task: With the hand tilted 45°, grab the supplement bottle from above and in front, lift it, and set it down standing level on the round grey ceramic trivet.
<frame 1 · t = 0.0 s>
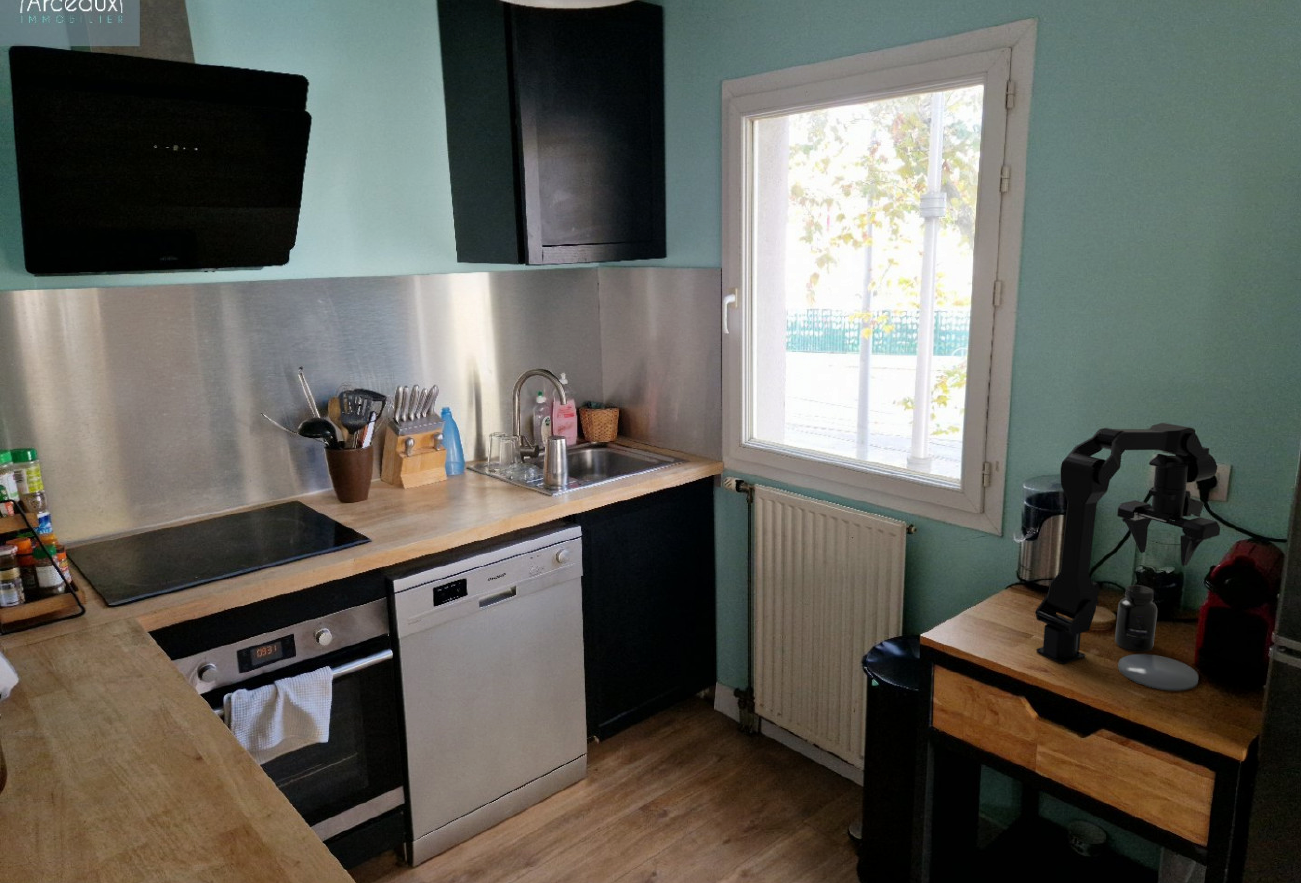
hand: (1162, 558, 184), 15 cm above the cabinet, tool pointing down, fingers open, 9 cm apart
supplement bottle: (1134, 646, 178), on the cabinet
trivet: (1157, 673, 166), on the cabinet
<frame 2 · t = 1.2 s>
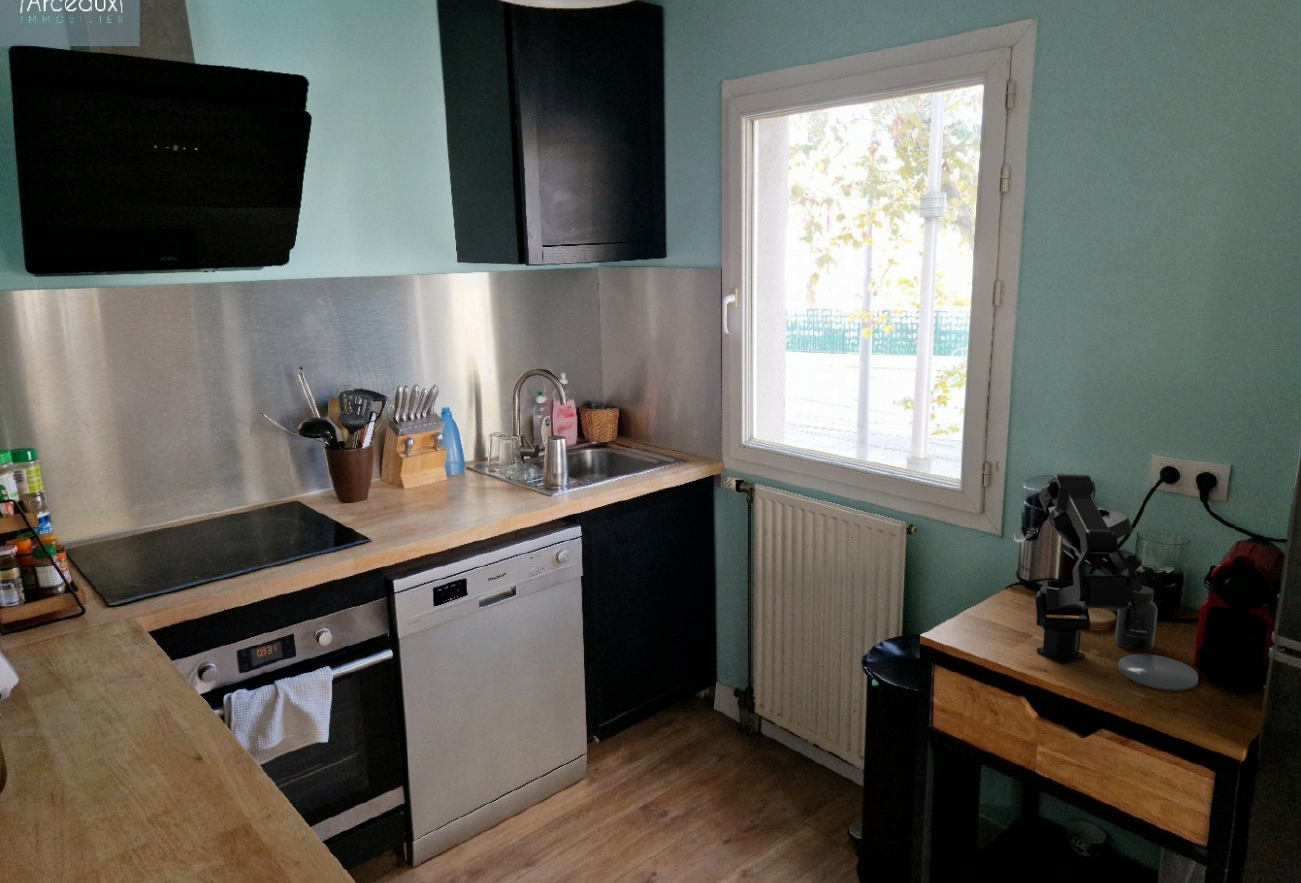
hand: (1125, 581, 175), 14 cm above the cabinet, tool tilted 45°, fingers open, 9 cm apart
nothing on the cabinet moved.
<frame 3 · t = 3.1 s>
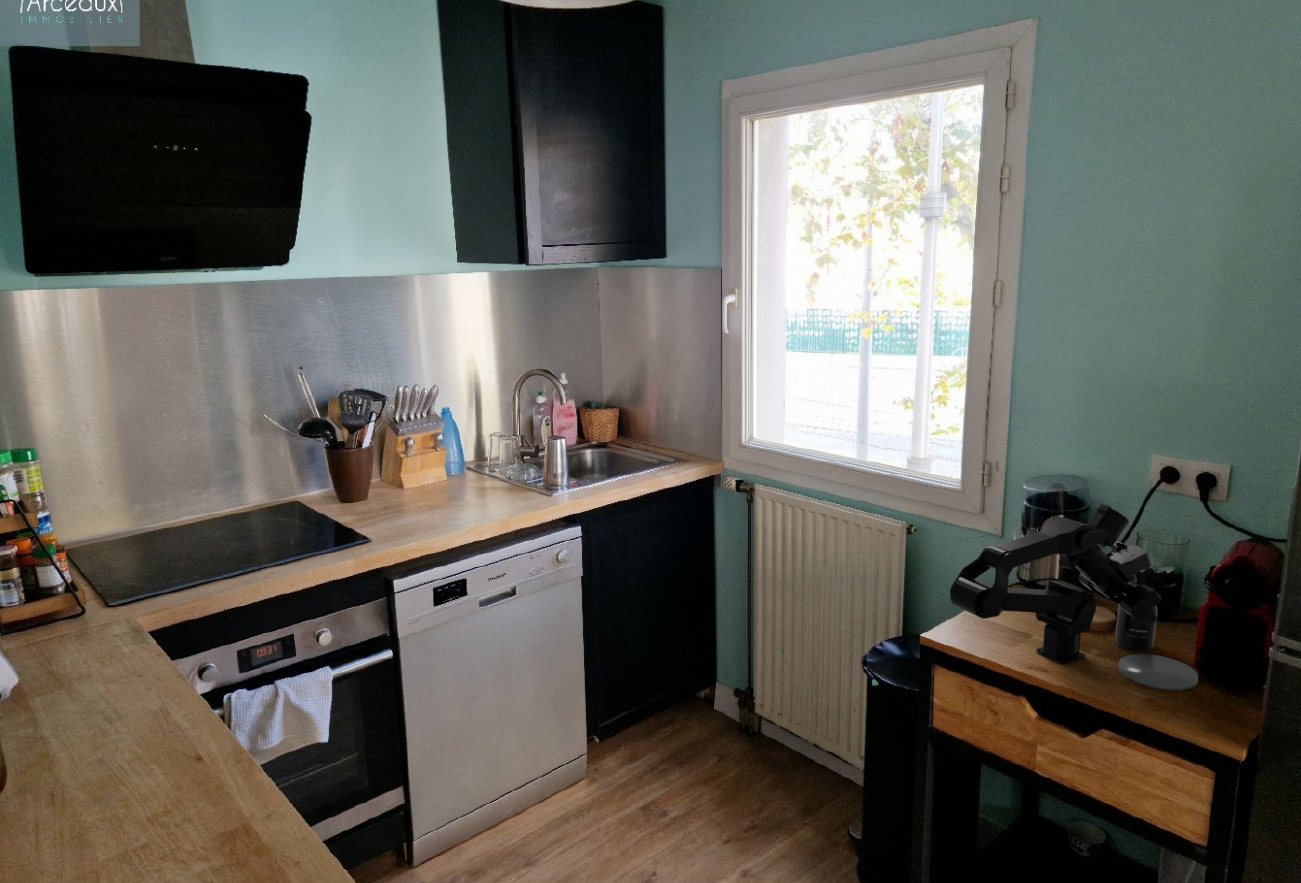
hand: (1143, 613, 177), 7 cm above the cabinet, tool tilted 45°, fingers closed on supplement bottle, 7 cm apart
supplement bottle: (1134, 646, 178), on the cabinet, touching gripper
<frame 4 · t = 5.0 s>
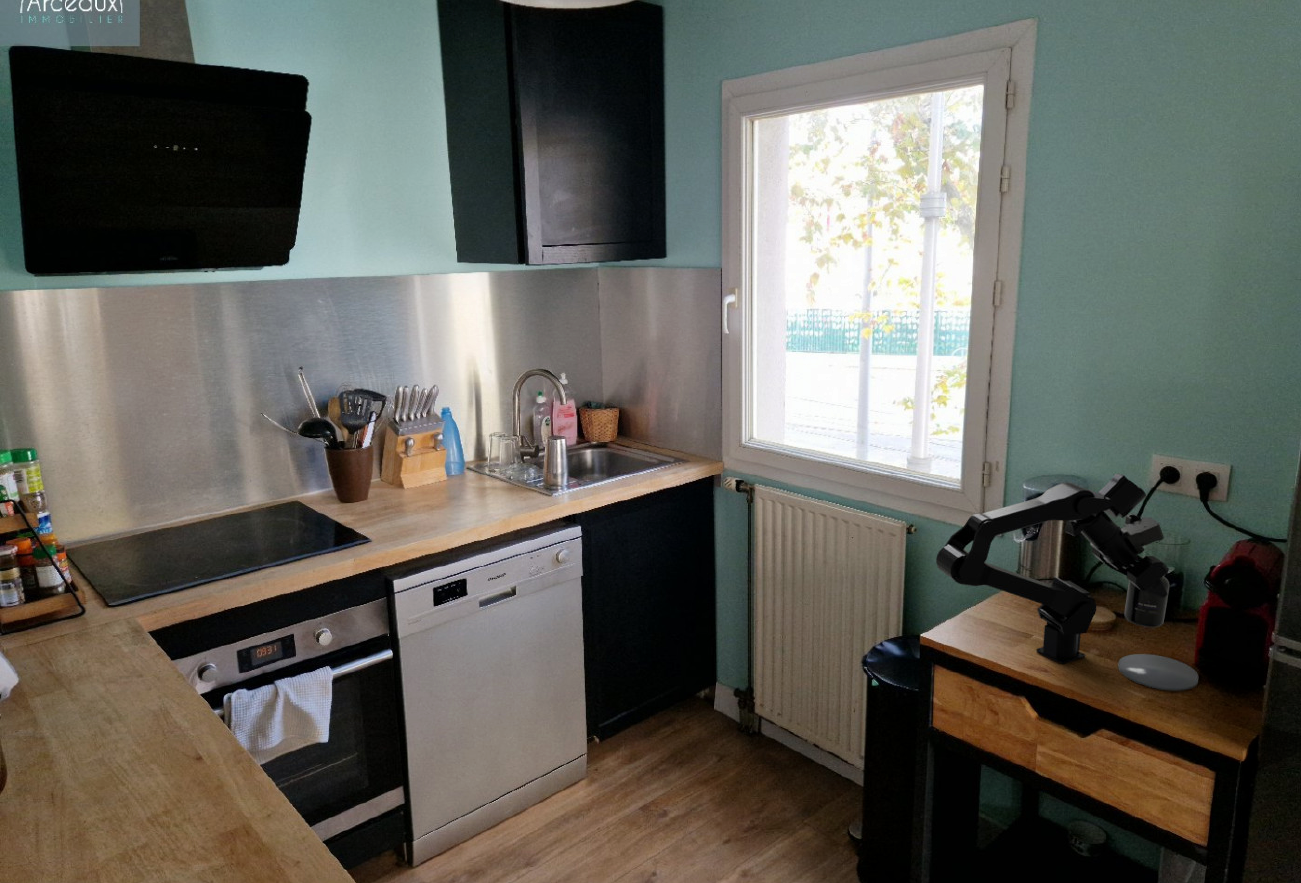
hand: (1155, 589, 173), 13 cm above the cabinet, tool tilted 45°, fingers closed on supplement bottle, 7 cm apart
supplement bottle: (1143, 621, 174), point 6 cm above the cabinet, touching gripper
when the fingers open (9 cm above the cabinet, at t = 7.4 s): supplement bottle stays where it is, resting on trivet.
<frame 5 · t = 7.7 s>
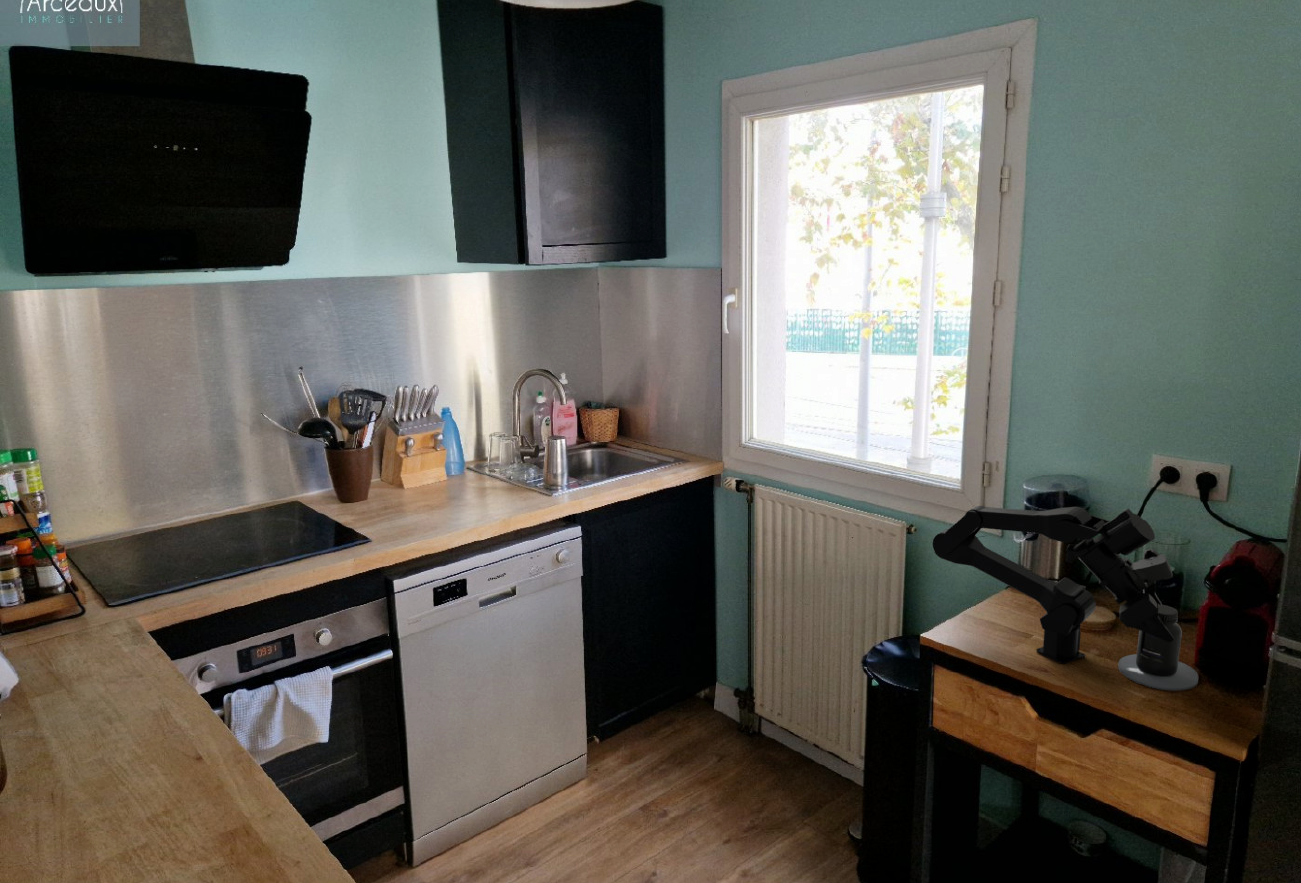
hand: (1170, 630, 164), 9 cm above the cabinet, tool tilted 45°, fingers open, 9 cm apart
supplement bottle: (1156, 670, 167), point 1 cm above the cabinet, touching trivet
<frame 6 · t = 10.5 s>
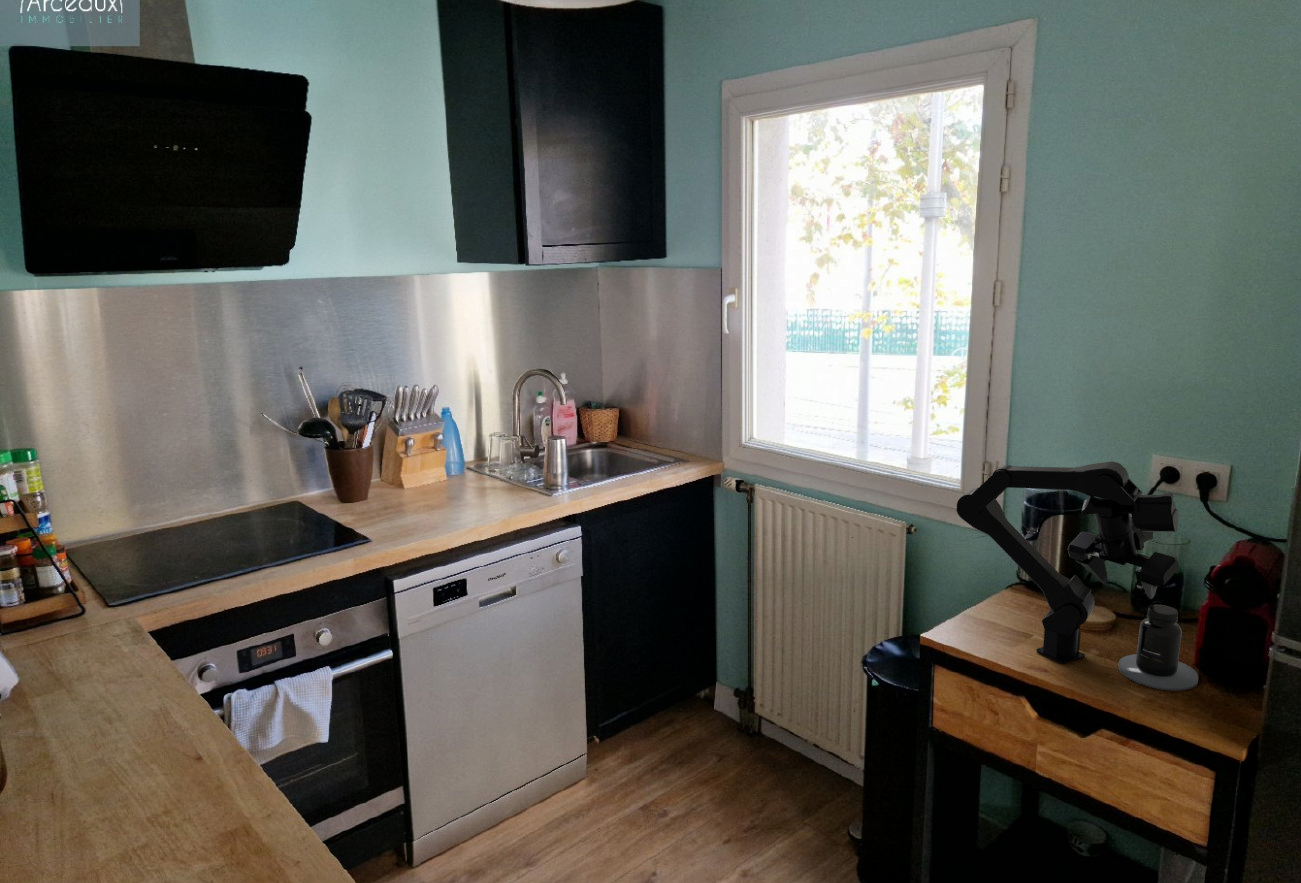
hand: (1128, 589, 173), 13 cm above the cabinet, tool tilted 25°, fingers open, 9 cm apart
nothing on the cabinet moved.
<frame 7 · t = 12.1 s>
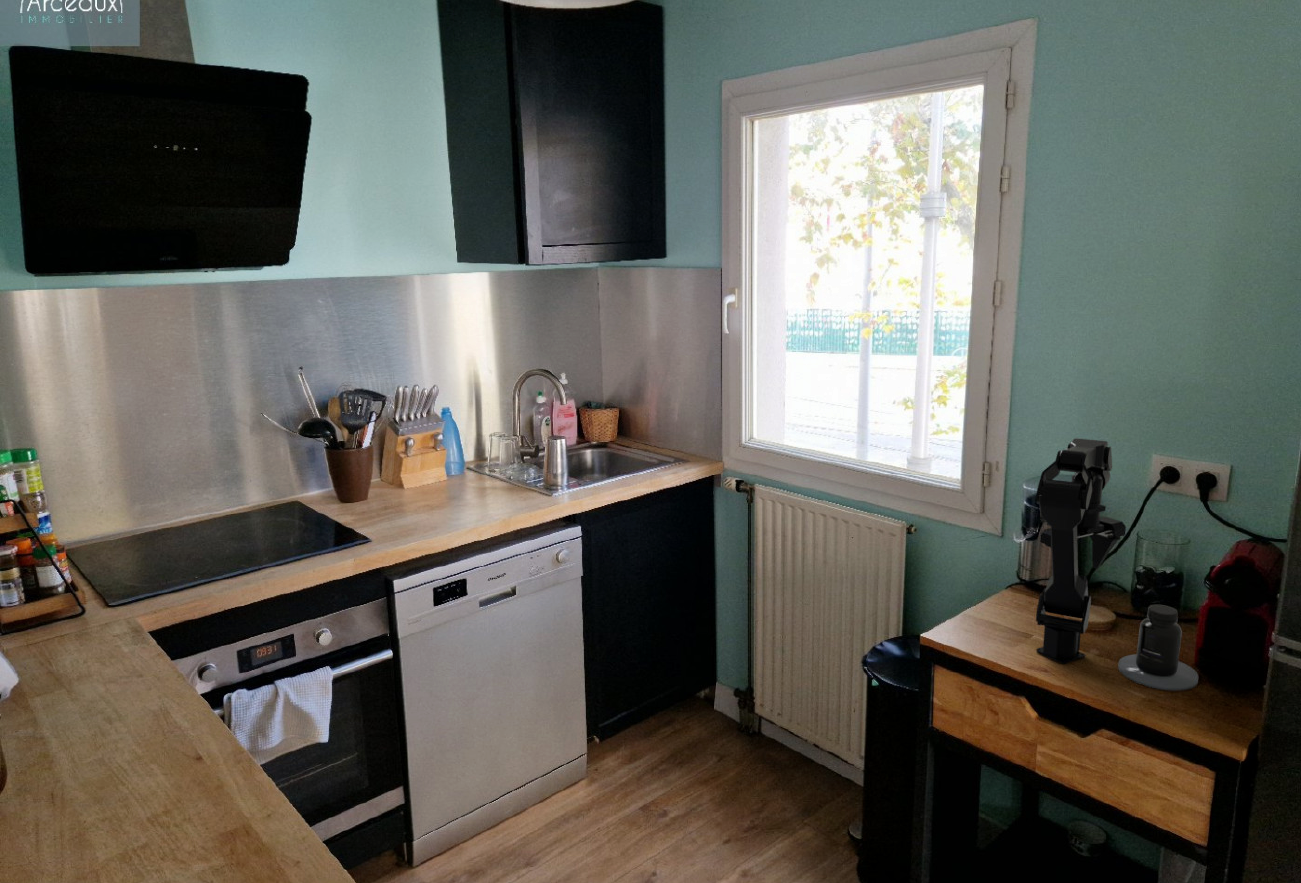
hand: (1080, 571, 185), 12 cm above the cabinet, tool pointing down, fingers open, 9 cm apart
nothing on the cabinet moved.
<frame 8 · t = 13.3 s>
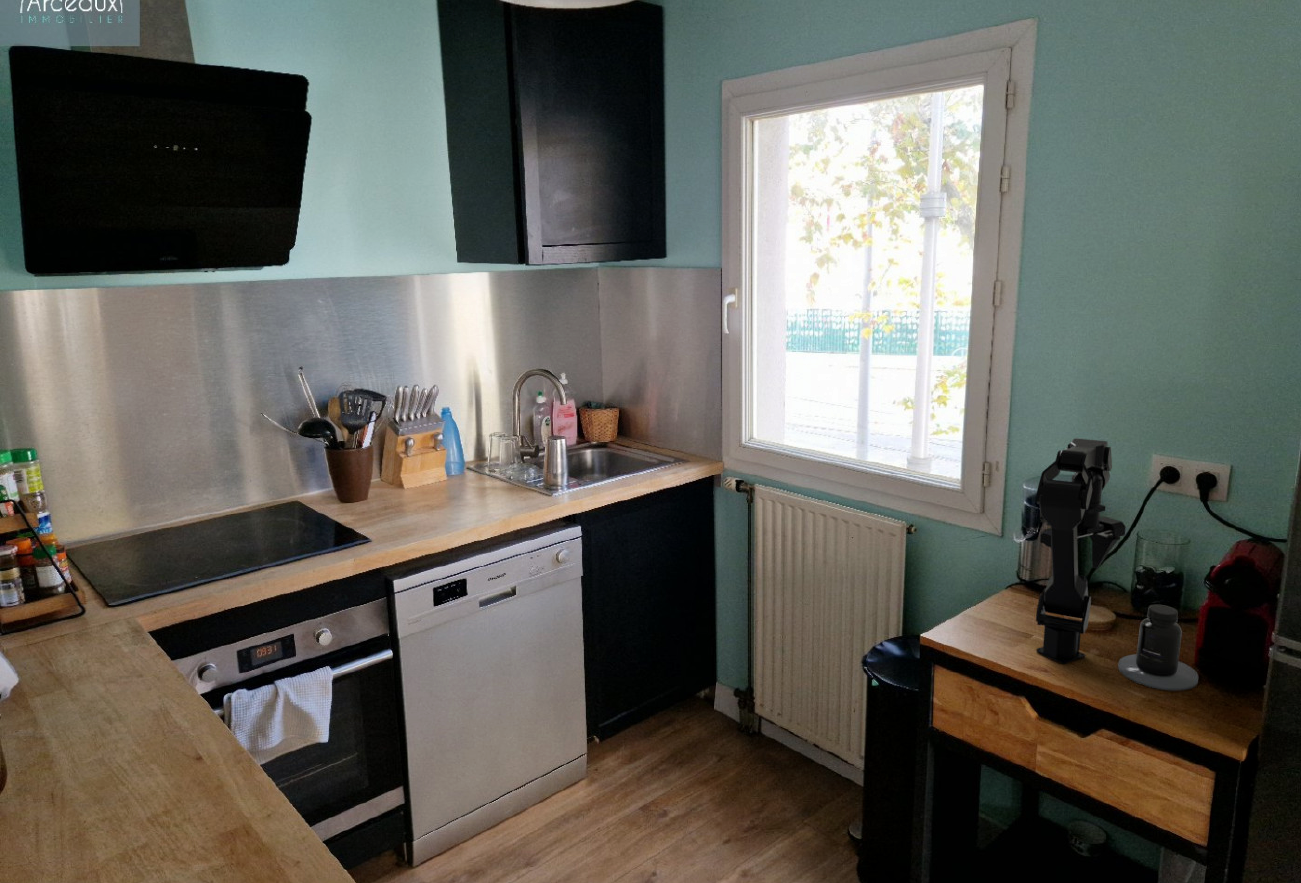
hand: (1079, 571, 185), 12 cm above the cabinet, tool pointing down, fingers open, 9 cm apart
nothing on the cabinet moved.
at the end: supplement bottle 0.3 cm off-centre on the trivet, point 0.6 cm above the trivet's base; supplement bottle tilted 0°; the gripper is holding nothing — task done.
